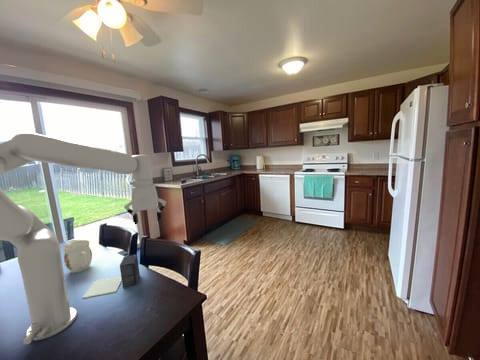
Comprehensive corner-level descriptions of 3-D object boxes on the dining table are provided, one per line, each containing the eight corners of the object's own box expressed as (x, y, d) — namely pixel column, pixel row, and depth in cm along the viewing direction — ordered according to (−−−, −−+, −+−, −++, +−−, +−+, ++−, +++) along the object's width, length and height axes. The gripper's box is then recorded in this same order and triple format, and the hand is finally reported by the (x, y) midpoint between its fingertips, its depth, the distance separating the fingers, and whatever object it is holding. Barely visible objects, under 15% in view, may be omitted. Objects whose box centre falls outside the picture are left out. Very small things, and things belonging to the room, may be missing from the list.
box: (126, 278, 94) (123, 256, 93) (140, 275, 96) (137, 254, 95) (122, 288, 87) (119, 265, 86) (137, 285, 89) (134, 262, 87)
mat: (116, 292, 85) (115, 291, 85) (82, 298, 82) (82, 297, 82) (124, 275, 96) (124, 275, 96) (95, 281, 93) (95, 280, 93)
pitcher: (75, 280, 94) (70, 252, 93) (61, 270, 104) (56, 244, 103) (101, 269, 103) (97, 243, 102) (86, 260, 113) (82, 236, 112)
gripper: (118, 186, 83) (123, 227, 85) (163, 182, 87) (167, 221, 89) (123, 184, 90) (128, 222, 92) (165, 180, 94) (169, 217, 97)
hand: (147, 221), depth 91 cm, fingers open, 8 cm apart
